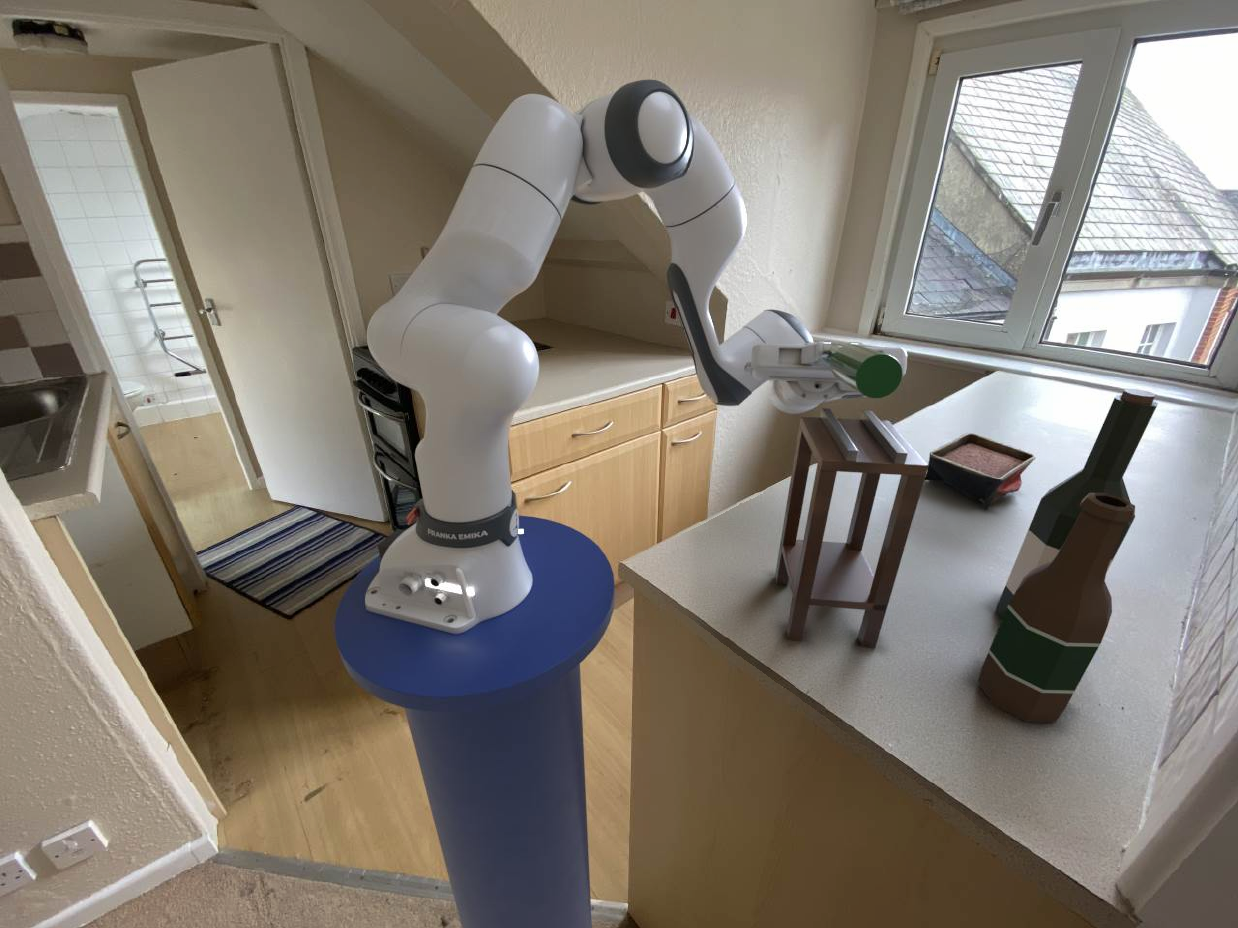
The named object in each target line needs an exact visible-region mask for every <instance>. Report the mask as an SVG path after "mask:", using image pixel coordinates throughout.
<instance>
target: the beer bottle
mask: <svg viewBox="0 0 1238 928" xmlns="http://www.w3.org/2000/svg"><path fill="white" fill-rule="evenodd" d="M1130 502H1131V501H1130ZM1130 502H1128V501H1127V500H1125V499H1123V498H1121V497H1118V496H1115V495H1111V494H1107V493H1089V494H1088V495H1087V496H1086V497H1085V498H1084V499H1083V500H1082V502H1081V504H1080V507H1081V508H1082V509H1083V510H1082V512H1081V513H1080V515H1079V517H1078V519H1077V521H1076V522H1075V524H1074V526H1073V528H1072V530H1071V531H1070V533H1069V535H1068V537H1067V539H1066V540H1065V542H1064V544H1063V546H1062V548H1061V549H1060V551H1059V552H1058V553H1057V555H1056V556H1055V557H1054V558H1053V560H1052V561H1051V562H1049V563H1046V564H1044V565H1042V566H1039V567H1037V568H1035V569H1033V570H1032V571H1031V572H1030V573H1029V574H1027V575H1026V576H1025V577H1024V578H1023V580H1022V582H1021V583H1020V585H1019V587H1018V588H1017V590H1016V592H1015V594H1014V596H1013V597H1012V599H1011V601H1010V603H1009V605H1008V607H1007V609H1006V612H1005V614H1004V616H1003V619H1001V621H1000V623H999V626H998V628H997V631H996V632H995V636H994V637H993V640H992V642H991V645H990V646H989V649H988V652H987V653H986V657H985V658H984V661H983V664H982V665H981V668H980V672H979V674H978V677H977V683H978V685H979V686H980V687H981V689H982V690H983V692H984V693H985V694H986V696H987V698H988V699H989V700H990V702H991V703H992V705H993V706H996V707H997V708H999V709H1001V710H1003V711H1004V712H1005V713H1008V714H1010V715H1012V716H1013V717H1015V718H1017V719H1019V720H1021V721H1023V722H1024V723H1052V724H1053V723H1057V721H1058V720H1059V718H1060V717H1061V715H1062V714H1063V712H1064V711H1065V709H1066V708H1067V706H1068V704H1069V702H1070V700H1071V698H1072V697H1073V695H1074V694H1075V691H1076V690H1077V687H1078V686H1079V684H1080V682H1081V681H1082V678H1083V677H1084V676H1085V673H1086V671H1087V670H1088V667H1089V666H1090V664H1091V662H1092V660H1093V659H1094V657H1095V655H1096V654H1097V652H1098V649H1099V648H1100V646H1101V644H1102V642H1103V639H1104V636H1105V634H1106V631H1107V629H1108V626H1109V623H1110V620H1111V617H1112V614H1113V613H1112V612H1113V604H1112V603H1113V602H1112V601H1113V600H1112V598H1113V597H1112V595H1111V593H1110V590H1109V588H1108V585H1107V583H1106V577H1107V573H1108V571H1107V568H1108V566H1109V563H1110V561H1111V558H1112V556H1113V553H1114V551H1115V548H1116V546H1117V544H1118V541H1119V539H1120V536H1121V534H1122V531H1123V529H1124V526H1125V524H1126V522H1132V521H1133V522H1134V520H1133V518H1134V515H1135V516H1136V514H1135V513H1136V505H1135V504H1133V503H1132V502H1131V503H1130ZM1134 519H1135V518H1134ZM1133 522H1132V523H1133Z"/></svg>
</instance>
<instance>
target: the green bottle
mask: <svg viewBox="0 0 1238 928" xmlns="http://www.w3.org/2000/svg"><path fill="white" fill-rule="evenodd" d="M847 344H848V345H847ZM847 344H845V345H842V346H843V347H841V348H840V347H837V346H838V345H832V344H831V346H830V349H831V353H830V356H828V357H827V358H823V360H824V361H825V362H826V363H828V364H830V365H831V371H832V373H833V375H834V376H835V377H836V378H837V379H838V380H840V381H842V382H843V383H845V384H847V385H848V386H850V387H852V388H853V389H855V390H857V391H858V392H860V393H861V394H863V395H865V396H867V397H866V398H871V399H883V398H886V397H888V396H890V395H891V394H893V393H894V392H895V391H896V390H897V389H898V387H899V386H900V384H901V383H902V380H903V377H902V367H901V365H900V363H899V362H898V360H897V359H895V358H894V357H892V356H890V355H887V354H884V353H881V352H878V351H875V350H872V349H869V348H866V347H867V346H860V345H857V344H849V343H847Z"/></svg>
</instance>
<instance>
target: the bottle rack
mask: <svg viewBox="0 0 1238 928" xmlns="http://www.w3.org/2000/svg"><path fill="white" fill-rule="evenodd" d="M797 432H798V433H797V439H796V446H795V450H794V451H795V452H794V458H793V463H792V470H791V476H790V481H789V487H788V493H787V500H786V506H785V511H784V512H785V513H784V518H783V525H782V529H781V536H780V543H779V549H778V554H777V561H776V567H775V573H774V580H775V584H776V585H783V586H784V585H785V586H788V585H789V584H790V585H789V586H790V589H791V592H792V597H791V598H792V599H791V604H790V610H789V614H788V619H787V626H786V635H787V638H788V639H787V640H788V641H799V642H802V641H803V638H804V633H805V628H806V623H807V618H808V613H809V609H810V606H814V607H828V608H837V609H838V608H839V609H851V610H861V611H864V612H863V616H862V620H861V624H860V627H859V631H858V635H857V639H858V641H859V643H860V646H861V647H864V648H872V649H873V648H874V649H875V648H876V647H877V644H878V641H879V638H880V633H881V630H882V627H883V623H884V620H885V617H886V613H887V610H888V606H889V603H890V600H891V596H892V592H893V589H894V585H895V582H896V578H897V575H898V572H899V568H900V565H901V561H902V558H903V555H904V551H905V548H906V545H907V541H908V538H909V534H910V531H911V528H912V524H913V522H914V521H913V520H914V517H915V515H916V510H917V508H918V507H917V506H918V503H919V500H920V496H921V493H922V490H923V487H924V486H923V485H924V483H925V481H926V480H925V476H926V474H927V469H928V464H927V462H926V461H925V460H924V458H922V457H921V455H920V454H919V453H918V452H917V450H915V449H914V448H913V446H911V444H910V443H909V442H908V441H907V440H906V439H905V438H904V436H902V434H901V433H900V432H899V431H898V430H897V428H896V427H894V426H893V424H892V423H891V422H890V420H882V419H881V420H880V419H879V418H878V416H876V414H875V413H874V412H873V411H872V410H871V409H862V410H861V414H860V419H858V418H838V417H836V415H835V414H834V412H833V411H832V409H831V408H824V407H822V408H821V410H820V417H813V416H800V420H799V427H798V431H797ZM812 456H813V457H814V459H815V461H816V463H817V465H816V468H815V469H816V470H815V475H814V480H813V486H812V491H811V497H810V500H809V501H810V502H809V506H808V513H807V517H806V522H805V528H804V534H803V539H798V538H797V537H798V532H799V526H800V521H801V515H802V510H803V505H804V499H805V495H806V494H805V493H806V488H807V483H808V476H809V471H810V465H811V460H812ZM838 472H840V473H841V472H842V473H857V474H858V473H861V476H860V480H859V484H858V485H859V486H858V488H857V489H858V491H857V494H856V497H855V503H854V506H853V511H852V515H851V520H850V524H849V528H848V533H847V537H846V541H845V542H840V541H839V542H837V541H824V536H825V531H826V527H827V522H828V516H829V512H830V507H831V502H832V499H833V493H834V488H835V482H836V479H837V478H836V477H837V473H838ZM882 475H896V476H897V475H898V476H900V478H899V482H898V485H897V489H896V493H895V497H894V501H893V504H892V508H891V512H890V514H889V515H890V516H889V519H888V523H887V527H886V530H885V534H884V538H883V542H882V546H881V549H880V553H879V557H878V560H877V564H876V568H875V571H874V573H873V571H872V570H871V567H870V565H869V563H868V561H867V559H866V556H865V555H864V553H863V547H864V543H865V539H866V535H867V531H868V527H869V522H870V519H871V514H872V511H873V506H874V503H875V498H876V494H877V491H878V486H879V483H880V479H881V476H882Z"/></svg>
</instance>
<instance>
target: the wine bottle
mask: <svg viewBox="0 0 1238 928" xmlns="http://www.w3.org/2000/svg"><path fill="white" fill-rule="evenodd" d="M1156 396H1157V394H1156V393H1153V392H1151V391H1148V390H1142V389H1139V388H1138V389H1137V388H1124V390H1123V391H1122V393H1121V394H1118V395H1116V396H1114V398H1113V401H1112V403H1111V405H1110V407H1109V410H1108V412H1107V414H1106V416H1105V418H1104V421H1103V423H1102V425H1101V428H1100V430H1099V432H1098V434H1097V437H1096V439H1095V441H1094V444H1093V445H1092V447H1091V450H1090V451H1089V455H1088V457H1087V459H1086V462H1085V464H1084V467H1083V468H1082V469H1080V470H1079V471H1077V472H1075V473H1073V475H1071V476H1069V477H1067V478H1065V479H1064V480H1063V481H1061V482H1059V483H1058V484H1057V485H1055V486H1053V487H1052V488H1050V489H1049V490H1048V491H1047V492H1046V493H1045V494H1044V495H1043V496H1042V497H1041V498H1040V499H1039V503H1038V506H1037V508H1036V510H1035V512H1034V516H1033V518H1032V520H1031V522H1030V524H1029V527H1028V530H1027V533H1026V534H1025V537H1024V539H1023V541H1022V544H1021V547H1020V549H1019V551H1018V553H1017V556H1016V559H1015V561H1014V564H1013V566H1012V568H1011V571H1010V573H1009V576H1008V579H1007V581H1006V583H1005V586H1004V588H1003V590H1002V592H1001V595H1000V598H999V600H998V602H997V605H996V607H995V610H994V611H995V614H996V615H997V616H998V617H999V619H1000V620H1002V619H1003V616H1004V614H1005V612H1006V609H1007V607H1008V605H1009V603H1010V601H1011V599H1012V597H1013V596H1014V594H1015V592H1016V590H1017V588H1018V587H1019V585H1020V583H1021V582H1022V580H1023V578H1024V577H1025V576H1026V575H1027V574H1029V573H1030V572H1031V571H1032V570H1033V569H1035V568H1037V567H1039V566H1042V565H1044V564H1046V563H1049V562H1051V561H1052V560H1053V558H1054V557H1055V556H1056V555H1057V553H1058V552H1059V551H1060V549H1061V548H1062V546H1063V544H1064V542H1065V540H1066V539H1067V537H1068V535H1069V533H1070V531H1071V530H1072V528H1073V526H1074V524H1075V522H1076V521H1077V519H1078V517H1079V515H1080V513H1081V512H1082V510H1083V509H1082V508H1081V507H1080V504H1081V502H1082V500H1083V499H1084V498H1085V497H1086V496H1087V495H1088V494H1089V493H1107V494H1111V495H1115V496H1118V497H1121V498H1123V499H1125V500H1127V501H1128V502H1130V503H1131V504H1132V501H1131V499H1130V496H1129V493H1128V490H1127V487H1126V484H1125V481H1124V476H1125V474H1126V472H1127V470H1128V468H1129V465H1130V463H1131V462H1132V459H1133V457H1134V454H1135V453H1136V451H1137V448H1138V446H1139V444H1140V442H1141V440H1142V439H1143V436H1144V434H1145V432H1146V430H1147V428H1148V426H1149V423H1150V422H1151V420H1152V418H1153V415H1154V413H1155V412H1156V409H1157V407H1158V405H1159V402H1157V401H1154V400H1155V398H1156ZM1135 519H1136V514H1135V515H1134V518H1133V521H1132V522H1126V524H1125V526H1124V529H1123V531H1122V534H1121V536H1120V539H1119V541H1118V544H1117V546H1116V548H1115V551H1114V553H1113V556H1112V558H1111V561H1110V563H1109V566H1108V568H1107V572H1108V571H1109V569H1110V567H1111V566H1112V564H1113V561H1114V560H1115V557H1116V555H1117V553H1118V552H1119V550H1120V548H1121V545H1122V544H1123V542H1124V541H1125V538H1126V537H1127V534H1128V532H1129V530H1130V528H1131V526H1132V524H1133V523H1134V520H1135Z"/></svg>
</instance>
